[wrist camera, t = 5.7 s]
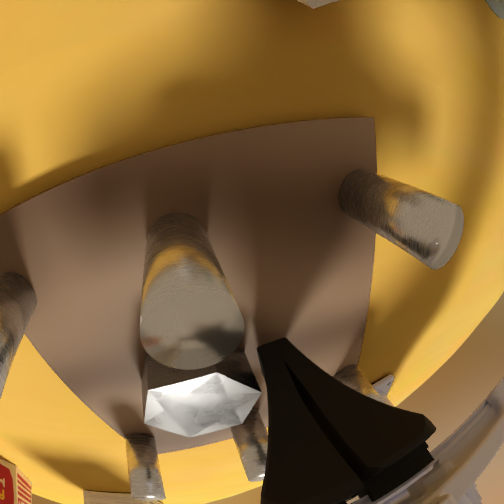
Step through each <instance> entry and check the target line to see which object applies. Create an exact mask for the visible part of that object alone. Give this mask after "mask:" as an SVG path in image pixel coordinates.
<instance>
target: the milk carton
mask: <svg viewBox="0 0 504 504" xmlns="http://www.w3.org/2000/svg"><path fill="white" fill-rule="evenodd" d="M31 486H32V483H31V481H30V480H29V479H28V478H27V477H26V476H25V475H24V474H23V472H22V471H21V470H20V469H19V468H18V467H17V466H16V465H14V464H11V463H9V462H7V461H4V460H2V459H0V504H32V502H31V500H32V499H31Z"/></svg>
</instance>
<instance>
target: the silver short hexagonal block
mask: <svg viewBox="0 0 504 504" xmlns="http://www.w3.org/2000/svg"><path fill="white" fill-rule="evenodd" d="M141 384H142V403H143V417H144V423H145V424H147V425H150V426H153V427H156V428H159V429H163V430H166V431H169V432H172V433H176V434H179V435H183V436H187V437H194V436H198V435H202V434H207V433H211V432H214V431H218V430H222V429H225V428H229V427H232V426H236V425H239V424H242V423H243V421H244V420H245V418H246V417H247V415H248V414H249V412H250V411H251V409H252V407H253V406H254V404H255V403H256V401H257V400H258V398H259V396H260V395H261V393H262V392H261V389H260V387H259V385H258V382H257V380H256V378H255V375H254V373H253V371H252V368H251V366H250V364H249V361H248V359H247V356H246V354H245V352H244V351H242V350H241V349H239V348H236V349H235V351H234V352H233V353H232V354H230V355H229V356H228V357H227V358H225V359H224V360H222V361H220V362H219V363H216V364H214V365H212V366H209V367H205V368H201V369H192V370H184V369H176V368H172V367H168V366H165V365H163V364H161V363H159V362H158V361H156V360H155V359H153V358H152V357H151V356H150V355H149V354H148V353H147V352H146V350H145V355H144V362H143V371H142V379H141Z"/></svg>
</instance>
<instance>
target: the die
mask: <svg viewBox="0 0 504 504" xmlns="http://www.w3.org/2000/svg"><path fill="white" fill-rule="evenodd" d="M296 1H299V2H301V3H303V4H305V5H307V6H309V7H311V8H313V9H315V8H317V7H320V6H323V5H326V4H329V3H332V2H336V1H339V0H296Z"/></svg>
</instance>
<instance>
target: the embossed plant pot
mask: <svg viewBox="0 0 504 504" xmlns="http://www.w3.org/2000/svg"><path fill="white" fill-rule="evenodd" d="M485 1H486V2H487V4H488V5H489V7H490V8H491V9H492V11H493V12H494V13H495V14H496V15H497V16H498V17H499V18H502V19H504V0H485Z"/></svg>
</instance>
